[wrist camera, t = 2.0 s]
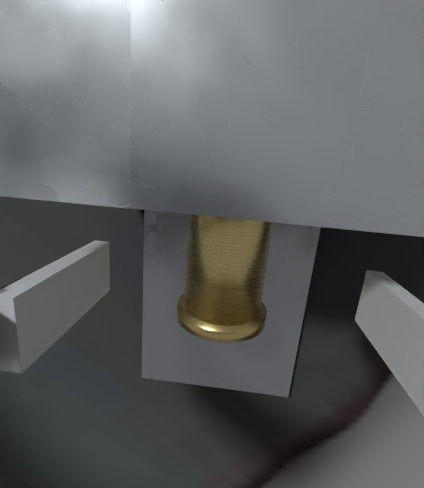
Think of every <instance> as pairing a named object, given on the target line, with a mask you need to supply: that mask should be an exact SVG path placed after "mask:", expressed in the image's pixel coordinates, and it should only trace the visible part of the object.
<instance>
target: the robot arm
mask: <svg viewBox="0 0 424 488" xmlns="http://www.w3.org/2000/svg"><path fill="white" fill-rule="evenodd" d="M109 290H110V268H109V242H104V241H93V242H91V243H89V244H87V245H85V246H84V247H82V248H80V249H78V250H76V251H74V252H72V253H70V254H68V255H66V256H64V257H62V258H60V259H58V260H57V261H55V262H53V263H51V264H49V265H47V266H45V267H43V268H41V269H39V270H37V271H35V272H33V273H32V274H30V275H28V276H26V277H23V278H20V279H18V280H16V281H14V282H12V283H10V285H6V286H4V287H2V288H1V289H0V370H1V371H8V372H15V373H23V372H24V371H25V370H26V369H27V368H28V367H29V366H30V365H31V364H32V363H34V362H35V361H36V360H37V359H38V358H39V357H40V356H41V355H42V354H43V353H44V352H45V351H46V350H47V349H48V348H49V347H50V346H51V345H52V344H54V343H55V342H56V341H57V340H58V339H59V338H60V337H61V336H62V335H63V334H64V333H65V332H66V331H67V330H68V329H69V328H70V327H71V326H72V325H74V324H75V323H76V322H77V321H78V320H79V319H80V318H81V317H82V316H83V315H84V314H85V313H86V312H87V311H88V310H89V309H90V308H91V307H93V306H94V305H95V304H96V303H97V302H98V301H99V300H100V299H101V298H102V297H103V296H104V295H105V294H106V293H107V292H108V291H109ZM355 321H356V323H357V324H358V325H359V327H360V328H361V330H362V331H363V332H364V334H365V335H366V337H367V338H368V339H369V341H370V342H371V344H372V345H373V346H374V348H375V349H376V351H377V352H378V353H379V355H380V356H381V358H382V359H383V360H384V362H385V363H386V364H387V366H388V367H389V369H390V370H391V371H392V373H393V374H394V376H395V377H396V378H397V380H398V381H399V382H400V384H401V385H402V387H403V388H404V390H405V391H406V392H407V394H408V395H409V397H410V398H411V399H412V401H413V402H414V403H415V405H416V406H417V407H418V409H419V411H420V412H421V413H422V415H423V416H424V303H422V302H421V301H420V300H419V299H417V298H416V297H415V296H413V295H412V294H411V293H410V292H408V291H407V290H406V289H404V288H403V287H402V286H400V285H399V284H398V283H397V282H395V281H394V280H393V279H391V278H390V277H389V276H387V275H386V274H385V273H384V272H378V271H369V270H367V271H366V275H365V280H364V284H363V288H362V292H361V296H360V300H359V304H358V308H357V312H356V316H355Z"/></svg>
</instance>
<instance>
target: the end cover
mask: <svg viewBox="0 0 424 488" xmlns="http://www.w3.org/2000/svg"><path fill="white" fill-rule="evenodd" d="M272 225H273V222H264V221H254V220H243V219H233V218H223V217H212V216H202V215H192V214H189V226H188V243H187V259H186V276H185V293H184V294H182V295H181V296H180V298H179V299H178V302H177V320H178V322H179V324H180V325H181V326H182V327H183V328H184V329H185V330H186V331H187V332H189V333H191V334H192V335H194V336H196V337H199V338H202V339H205V340H209V341H213V342H221V343H235V342H242V341H246V340H250V339H252V338H254V337H256V336H258V335H259V334H260V333H261V332H262V331H263V329H264V327H265V321H266V314H267V310H266V307H265V305H264V304H263V302H262V295H263V288H264V281H265V274H266V267H267V260H268V253H269V246H270V239H271V232H272Z"/></svg>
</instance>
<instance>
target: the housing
mask: <svg viewBox="0 0 424 488" xmlns="http://www.w3.org/2000/svg"><path fill="white" fill-rule="evenodd" d="M0 196H6V197H16V198H26V199H37V200H47V201H57V202H68V203H78V204H88V205H99V206H109V207H119V208H130V209H140V210H144V272H143V334H142V378H148V379H156V380H163V381H171V382H178V383H186V384H193V385H201V386H208V387H216V388H223V389H231V390H238V391H246V392H253V393H261V394H268V395H276V396H283V397H288V396H289V391H290V386H291V380H292V375H293V370H294V365H295V359H296V354H297V349H298V344H299V338H300V333H301V328H302V323H303V317H304V312H305V307H306V302H307V297H308V291H309V286H310V281H311V276H312V270H313V265H314V260H315V255H316V249H317V244H318V239H319V234H320V228H321V227H326V228H336V229H347V230H357V231H367V232H378V233H388V234H398V235H409V236H419V237H424V0H0ZM189 214H192V215H202V216H212V217H223V218H233V219H243V220H254V221H264V222H273V225H272V232H271V239H270V246H269V253H268V260H267V267H266V274H265V281H264V288H263V295H262V302H263V304H264V305H265V307H266V310H267V314H266V321H265V327H264V329H263V331H262V332H261V333H260V334H259V335H258V336H256V337H254V338H252V339H250V340H246V341H242V342H235V343H221V342H213V341H209V340H205V339H202V338H199V337H196V336H194V335H192V334H191V333H189V332H187V331H186V330H185V329H184V328H183V327H182V326H181V325H180V324H179V322H178V320H177V302H178V299H179V298H180V296H181V295H182V294H184V293H185V276H186V259H187V243H188V226H189Z"/></svg>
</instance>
